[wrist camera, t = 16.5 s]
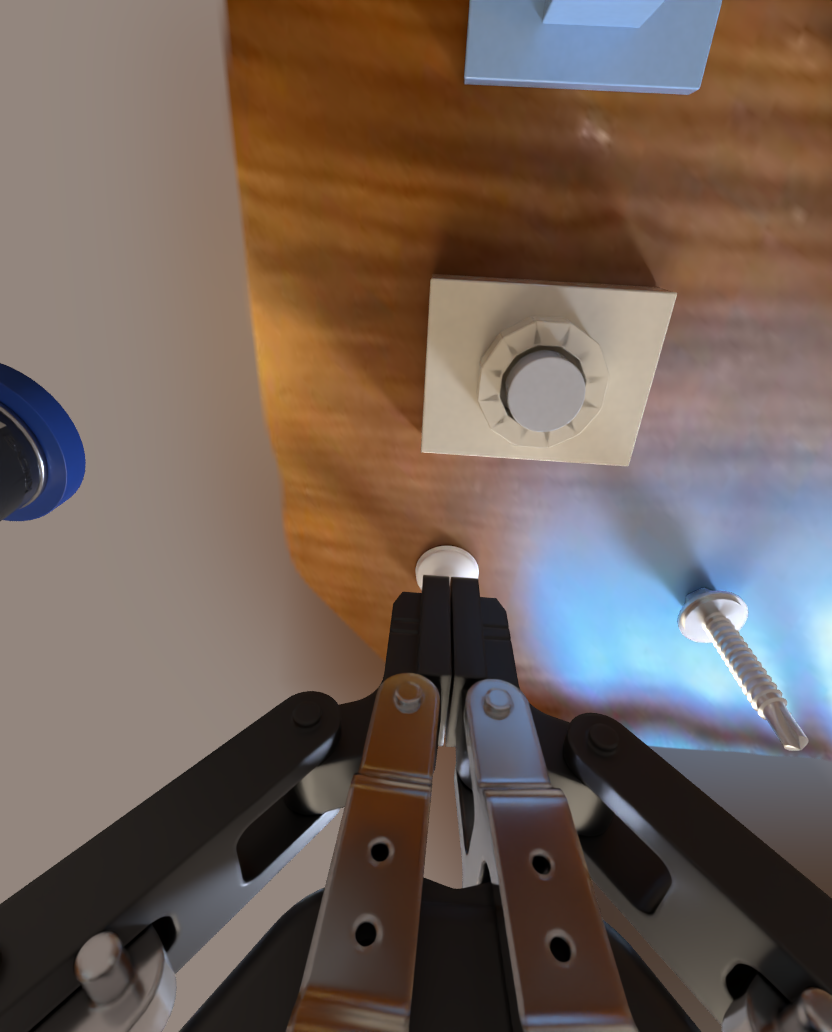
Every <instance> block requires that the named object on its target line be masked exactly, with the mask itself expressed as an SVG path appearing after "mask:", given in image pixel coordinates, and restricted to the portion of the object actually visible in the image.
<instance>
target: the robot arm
mask: <svg viewBox="0 0 832 1032" xmlns="http://www.w3.org/2000/svg"><path fill="white" fill-rule="evenodd" d="M47 481H48V464H47V459H46V456H45V453H44V450H43V448H42V446H41V444H40V442H39V440H38V439H37V437H36V435H35V434H34V433H33V431H32V430H31V428H30V427H29V426H28V425H27V424H26V423H25V421H24V420H23V419H22V418H21V417H20V416H19V415H18V414H16V413H15V412H14V411H13V410H12V409H11V408H9V407H8V406H7V405H5V404H4V403H2V402H1V401H0V521H1V520H3V519H4V518H6V517H7V516H9V515H11V514H12V513H14V512H15V511H17V510H18V509H21V508H23V507H25V506H27V505H29V504H30V503H32V502H33V501H35V500H36V499H37V498H38V497H39V496H40V495H41V494H42V493H43V491H44V489H45V487H46V484H47ZM508 627H509V626H508V620H507V614H506V611H505V609H504V608H503V607H502V605H501V604H500V603H499V601H498V600H497V599H496V598H485V597H480V592H479V583H478V578H465V577H451V580H450V581H449V576H436V575H423V582H422V593H413V592H402V593H401V595H400V596H399V597H398V598H397V600H396V601H395V602H394V603H393V610H392V618H391V626H390V633H389V641H388V649H387V656H386V664H385V672H384V677H383V680H382V683H381V684H380V686H379V688H378V689H377V690H375V691H374V692H373V693H372V694H371V695H369V696H367V697H366V698H363V699H361V700H358V701H354V702H350V703H345V704H341V705H338V704H337V702H336V701H335V700H334V699H333V698H332V697H330V696H329V695H327V694H324V693H321V692H315V691H307V692H301V693H298V694H295V695H293V696H291V697H289V698H288V699H286V700H285V701H283V702H282V703H280V704H279V705H278V706H276V707H275V708H273V709H272V710H271V711H270V712H268V713H267V714H265V715H264V716H262V717H261V718H260V719H258V720H257V721H255V722H254V723H253V724H251V725H250V726H248V727H247V728H246V729H244V730H243V731H241V732H240V733H239V734H237V735H236V736H235V737H233V738H232V739H230V740H229V741H227V742H226V743H225V744H223V745H222V746H220V747H219V748H218V749H216V750H215V751H213V752H212V753H211V754H210V755H208V756H207V757H205V758H204V759H202V760H201V761H199V762H198V763H197V764H195V765H194V766H193V767H191V768H190V769H188V770H187V771H186V772H184V773H183V774H181V775H180V776H179V777H177V778H176V779H174V780H173V781H172V782H170V783H169V784H168V785H166V786H165V787H163V788H162V789H161V790H159V791H158V792H156V793H155V794H153V795H152V796H151V797H149V798H148V799H146V800H145V801H144V802H142V803H141V804H140V805H138V806H137V807H135V808H134V809H132V810H131V811H130V812H128V813H127V814H126V815H124V816H123V817H121V818H120V819H119V820H117V821H116V822H114V823H113V824H112V825H110V826H109V827H107V828H106V829H105V830H103V831H102V832H100V833H99V834H98V835H96V836H95V837H93V838H92V839H91V840H89V841H88V842H86V843H85V844H84V845H82V846H81V847H79V848H78V849H77V850H75V851H74V852H72V853H71V854H70V855H68V856H67V857H65V858H64V859H63V860H61V861H60V862H58V863H57V864H56V865H54V866H53V867H52V868H50V869H49V870H47V871H46V872H45V873H43V874H42V875H40V876H39V877H38V878H36V879H35V880H33V881H32V882H31V883H29V884H28V885H26V886H25V887H24V888H22V889H21V890H20V891H18V892H17V893H15V894H14V895H12V896H11V897H10V898H8V899H7V900H5V901H4V902H3V903H1V904H0V1032H162V1031H163V1029H164V1027H165V1026H166V1023H167V1021H168V1019H169V1017H170V1015H171V1012H172V1009H173V1006H174V1002H175V997H176V977H175V974H176V973H177V972H178V971H179V970H180V969H181V968H182V967H183V966H184V965H185V964H186V963H187V962H188V961H189V960H190V959H191V958H192V957H193V956H194V955H195V954H196V953H197V952H198V951H199V950H200V949H201V948H202V947H203V946H204V945H205V944H206V943H207V942H208V941H209V940H210V939H211V938H212V937H213V936H214V935H215V934H216V933H217V932H218V931H219V930H220V929H221V928H222V927H223V926H225V924H227V923H228V922H229V921H230V920H231V919H232V917H234V916H235V915H236V914H237V913H238V912H239V911H240V910H241V909H242V908H243V907H244V906H245V905H246V904H247V903H248V902H249V901H250V900H251V899H252V898H253V897H254V896H255V895H256V894H257V893H258V892H259V891H260V890H261V889H262V888H263V887H264V886H265V885H266V884H267V883H268V882H269V881H270V880H271V879H272V878H273V877H274V876H275V875H276V874H277V873H278V872H279V871H280V870H281V869H282V868H283V867H284V866H285V865H286V864H287V863H288V862H289V861H290V860H291V859H293V858H294V857H295V856H296V854H297V853H299V852H300V850H302V849H303V848H304V847H305V845H306V844H308V843H309V842H310V841H311V840H312V839H313V838H314V837H315V836H316V835H317V834H318V833H319V832H320V831H321V830H322V829H323V828H324V827H325V826H326V825H327V824H328V823H329V822H330V821H331V820H332V819H333V818H334V817H335V816H336V815H337V813H338V811H339V810H340V808H343V807H345V808H344V812H343V816H342V820H341V824H340V828H339V833H338V837H337V840H336V845H335V849H334V853H333V857H332V861H331V865H330V869H329V873H328V877H327V881H326V885H325V888H322V889H320V890H318V891H316V892H314V893H312V894H310V895H308V896H307V897H305V898H304V899H302V900H301V901H299V902H298V903H297V904H295V905H294V906H293V907H292V908H291V909H289V910H288V911H287V912H286V913H285V914H284V915H282V916H281V918H280V919H279V920H278V921H277V922H276V923H275V924H274V925H273V926H272V927H271V928H270V930H269V931H268V932H267V933H266V934H265V935H264V936H263V937H262V938H261V940H260V941H259V942H258V943H257V944H256V945H255V946H254V947H253V949H252V950H251V951H250V952H249V953H248V954H247V955H246V957H245V958H244V959H243V960H242V961H241V962H240V963H239V964H238V966H237V967H236V968H235V969H234V970H233V971H232V972H231V973H230V975H229V976H228V977H227V978H226V979H225V980H224V981H223V982H222V984H221V985H220V986H219V987H218V988H217V989H216V990H215V991H214V993H213V994H212V995H211V996H210V997H209V998H208V999H207V1000H206V1002H205V1003H204V1004H203V1005H202V1006H201V1007H200V1008H199V1009H198V1011H197V1012H196V1013H195V1014H194V1015H193V1016H192V1017H191V1018H190V1020H189V1021H188V1022H187V1023H186V1024H185V1025H184V1026H183V1027H182V1029H181V1030H180V1031H179V1032H701V1031H700V1029H699V1028H698V1027H697V1026H696V1025H695V1023H694V1022H693V1021H692V1020H691V1019H690V1017H689V1016H688V1015H687V1014H686V1012H685V1011H684V1010H683V1009H682V1007H681V1006H680V1005H679V1004H678V1003H677V1001H676V1000H675V999H674V998H673V996H672V995H671V994H670V993H669V992H668V991H667V989H666V988H665V987H664V985H663V984H662V983H661V982H660V981H659V979H658V978H657V977H656V976H655V974H654V973H653V972H652V971H651V969H650V968H649V967H648V966H647V965H646V963H645V962H644V961H643V960H642V959H641V957H640V956H639V955H638V954H637V952H636V951H635V950H634V949H633V948H632V947H631V945H630V944H629V943H628V942H627V941H626V940H625V939H624V938H623V937H622V936H621V935H620V934H619V933H618V932H617V931H616V930H615V929H613V928H612V927H611V926H610V925H609V924H608V923H606V922H605V921H604V920H603V919H602V915H601V912H600V908H599V905H598V902H597V898H596V895H595V892H594V888H593V885H592V881H591V879H592V880H593V881H594V882H595V883H596V885H597V886H598V887H599V888H600V889H601V890H602V891H603V892H604V894H605V895H606V896H607V897H608V898H609V899H610V900H611V902H612V903H613V904H614V905H615V906H616V907H617V908H618V909H619V911H620V912H621V913H622V914H623V915H624V916H625V917H626V918H627V919H628V921H629V922H630V923H631V924H632V925H633V926H634V927H635V929H636V930H637V931H638V932H639V933H640V934H641V935H642V936H643V938H644V939H645V940H646V941H647V942H648V943H649V944H650V946H651V947H652V948H653V949H654V950H655V951H656V952H657V953H658V955H659V956H660V957H661V958H662V959H663V960H664V961H665V962H666V964H667V965H668V966H669V967H670V968H671V969H672V970H673V971H674V973H675V974H676V975H677V976H678V977H679V978H680V979H681V981H682V982H683V983H684V984H685V985H686V986H687V987H688V988H689V989H690V991H691V992H692V993H693V994H694V995H695V996H696V997H697V999H698V1000H699V1001H700V1002H701V1003H702V1004H703V1005H704V1006H705V1008H706V1009H707V1010H708V1011H709V1012H710V1013H711V1014H712V1016H713V1017H714V1018H715V1019H716V1020H717V1021H718V1022H719V1023H720V1025H721V1026H722V1032H832V898H830V897H829V896H828V895H827V894H826V893H824V892H823V891H822V890H821V889H820V888H818V887H817V886H816V885H815V884H814V883H812V882H811V881H810V880H809V879H808V878H806V877H805V876H804V875H803V874H802V873H800V872H799V871H798V870H797V869H795V868H794V867H793V866H792V865H791V864H789V863H788V862H787V861H786V860H784V859H783V858H782V857H781V856H780V855H778V854H777V853H776V852H775V851H774V850H773V849H771V848H770V847H769V846H768V845H767V844H765V843H764V842H763V841H762V840H760V839H759V838H758V837H757V836H756V835H754V834H753V833H752V832H751V831H750V830H748V829H747V828H746V827H745V826H744V825H742V824H741V823H740V822H739V821H737V820H736V819H735V818H734V817H733V816H732V815H730V814H729V813H728V812H727V811H725V810H724V809H723V808H722V807H720V806H719V805H718V804H717V803H716V802H714V801H713V800H712V799H711V798H710V797H709V796H707V795H706V794H705V793H704V792H702V791H701V790H700V789H699V788H698V787H696V786H695V785H694V784H693V783H692V782H691V781H689V780H688V779H687V778H685V777H684V776H683V775H682V774H681V773H680V772H679V771H677V770H676V769H675V768H674V767H672V766H671V765H670V764H669V763H668V762H666V761H665V760H664V759H663V758H662V757H660V756H659V755H658V754H657V753H656V752H654V751H653V750H652V749H650V747H648V746H647V745H646V744H645V743H644V742H642V741H641V740H640V739H639V738H637V737H636V736H635V735H634V734H633V733H631V732H630V731H629V730H628V729H627V728H625V727H624V726H623V725H622V724H620V723H619V722H618V721H616V720H614V719H612V718H610V717H608V716H605V715H602V714H597V713H584V714H581V715H578V716H577V717H575V718H574V719H573V720H572V721H571V722H570V723H569V722H566V721H563V720H561V719H558V718H555V717H552V716H549V715H547V714H545V713H543V712H541V711H539V710H538V709H536V708H535V707H533V706H532V705H531V704H530V703H529V702H528V700H527V698H526V697H525V695H524V694H523V693H522V691H520V688H519V684H518V679H517V673H516V667H515V661H514V655H513V649H512V643H511V641H510V639H511V637H510V631H509V629H508ZM445 726H446V746H448V747H456V768H455V775H454V785H455V795H456V804H457V815H458V824H459V834H460V844H461V854H462V867H463V881H462V888H461V889H453V888H450V887H447V886H444V885H442V884H439V883H437V882H434V881H431V880H429V879H426V878H424V877H423V875H424V865H425V854H426V843H427V834H428V823H429V812H430V802H431V792H432V777H433V773H434V770H435V766H436V757H437V749H438V746H443V740H444V733H445Z"/></svg>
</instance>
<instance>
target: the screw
mask: <svg viewBox="0 0 832 1032" xmlns="http://www.w3.org/2000/svg"><path fill="white" fill-rule="evenodd" d="M747 617H748V609H747V605H746V604H745V602H744V601H743V600H742V599H741V598H740V597H739V596H738V595H736V594H734V593H732V592H727V591H712V590H709V589H707V588H704V587H703V588H701V589H699V590H697V591H695V592H692V593H690V594H688V595H686V600H685V605H684V606H683V607H682V609H681V610H680V612H679V615H678V619H677V623H678V627H679V629H680V631H681V632H682V634H683V635H684V636H685V637H686V638H688V639H690V640H692V641H695V642H701V643H712V642H713V644H714V646H715V648H717V651H718V653H719V654H720V655H721V657H722V659H723V660H724V661H725V663H726V665H727V666H728V667H729V670H730V672H731V673H732V674H733V675H734V678H735V679H736V680H737V681H738V684H739V686H740V687H741V688H742V690H743V693H744V694H745V695H746V696H747V699H748V700H749V702H751V703H752V706H753V708H754V709H755V710H756V711H758V713H759V716H760V717H761V718H763V719H765V720H767V721H768V723H769V724H770V726H771V727H772V729H773V731H774V732H775V734H776V735H777V737H778V738H779V740H780V742H781V743H782V745H783V746H784V748H785V749H787V750H791V751H796V750H802V749H803V748H804V747H805V746H806V745H807V743H808V738H807V737H806V735H805V734H804V733H803V731H802V730H801V728H800V727H799V725H798V724H797V722H796V721H795V720H794V718H793V717H792V715H791V713H790V712H789V711H788V709H787V707H786V705H787V700H786V699H784V698H781V697H782V692H781V691H780V690H777V685H776V684H775V683H773V682H771V681H772V678H771V677H770V676H769V675H766V674H767V671H766V670H765V669H764V668H762V664H761V663H760V662H759V661H757V657H756V656H755V655H754V654H753V652H752V650H751V649H750V648H748V644H747V643H746V642H744V639H743V637H742V636H740V634H739V632H738V631H739V630H740V629H741V628H742V627H743V625H744V624H745V622H746V620H747Z"/></svg>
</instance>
